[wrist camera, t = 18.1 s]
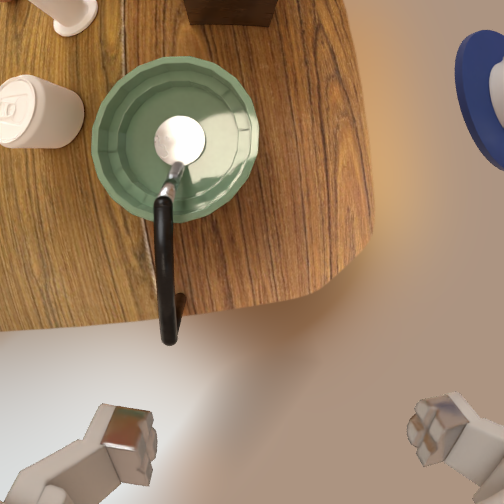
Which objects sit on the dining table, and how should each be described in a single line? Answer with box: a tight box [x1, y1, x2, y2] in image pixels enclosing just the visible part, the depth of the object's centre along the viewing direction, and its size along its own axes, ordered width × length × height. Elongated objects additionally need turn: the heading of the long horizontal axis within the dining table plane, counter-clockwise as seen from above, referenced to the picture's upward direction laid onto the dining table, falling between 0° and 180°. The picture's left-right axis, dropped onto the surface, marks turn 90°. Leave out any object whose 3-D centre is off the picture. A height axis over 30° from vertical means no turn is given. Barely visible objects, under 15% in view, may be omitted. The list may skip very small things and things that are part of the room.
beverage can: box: [0, 75, 84, 148], centre depth 28 cm, size 8×8×12 cm
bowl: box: [91, 56, 259, 223], centre depth 33 cm, size 18×18×7 cm
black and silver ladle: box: [153, 116, 206, 346], centre depth 33 cm, size 24×6×11 cm, turn 177°
